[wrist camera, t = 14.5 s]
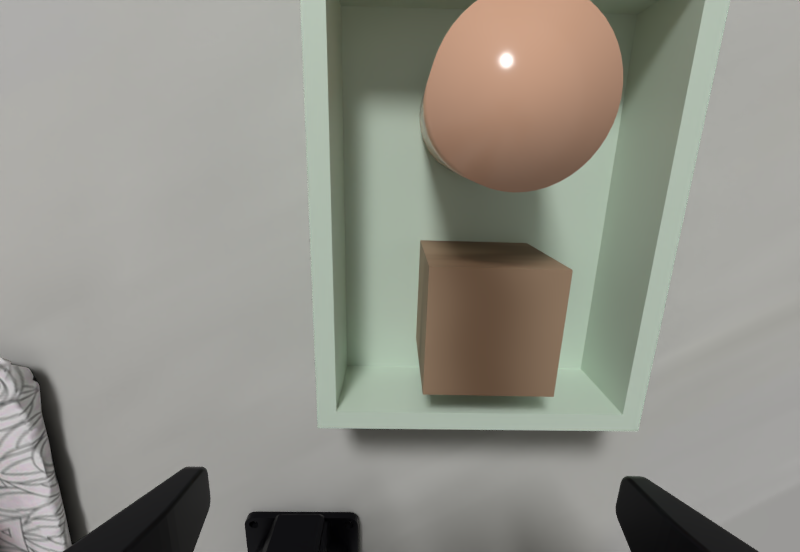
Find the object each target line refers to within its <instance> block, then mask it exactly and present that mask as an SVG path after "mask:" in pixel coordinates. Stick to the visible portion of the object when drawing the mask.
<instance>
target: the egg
mask: <svg viewBox="0 0 800 552" xmlns="http://www.w3.org/2000/svg"><path fill="white" fill-rule="evenodd" d="M622 88H623V64H622V56H621V52H620V48H619V44H618V41H617V39H616V36H615V34H614V31H613V29H612V27H611V26H610V24H609V22H608V21H607V19H606V17H605V16H604V15H603V14H602V12H601V11H600V10H599V9H598V7H596V6H595V5H594V4H593V3H592V2H591V1H590V0H477V1H476V2H474V3H473V4H472V5H471V6H470V7H468V8H467V9H466V10H465V11H464V12H463V13H462V14H461V15H460V16H459V18H458V19H457V20H456V21H455V22H454V23H453V25H452V26H451V28H450V29H449V31H448V32H447V34H446V35H445V37H444V39H443V41H442V43H441V45H440V47H439V49H438V51H437V54H436V57H435V59H434V62H433V65H432V68H431V72H430V75H429V78H428V81H427V84H426V87H425V90H424V94H423V97H422V101H421V105H420V113H419V123H420V130H421V134H422V138H423V140H424V143H425V145H426V147H427V149H428V151H429V152H430V154H431V155H432V156H433V158H434V159H435V160H436V161H437V162H438V163H439V164H441V165H442V166H443V167H445V168H446V169H448V170H450V171H451V172H454V173H456V174H458V175H460V176H462V177H465V178H467V179H469V180H471V181H473V182H476V183H478V184H480V185H483V186H485V187H488V188H490V189H494V190H498V191H504V192H529V191H535V190H539V189H542V188H546V187H549V186H551V185H554V184H556V183H558V182H560V181H562V180H564V179H565V178H567V177H569V176H571V175H572V174H573V173H575V172H576V171H577V170H579V169H580V168H581V167H582V166H583V165H584V164H585V163H586V162H587V161H588V160H590V159H591V157H592V156H593V155H594V154H595V153H596V151H597V150H598V149H599V148H600V146H601V145H602V143H603V142H604V140H605V139H606V137H607V135H608V133H609V131H610V129H611V127H612V126H613V123H614V121H615V118H616V115H617V113H618V109H619V105H620V101H621V96H622Z"/></svg>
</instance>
